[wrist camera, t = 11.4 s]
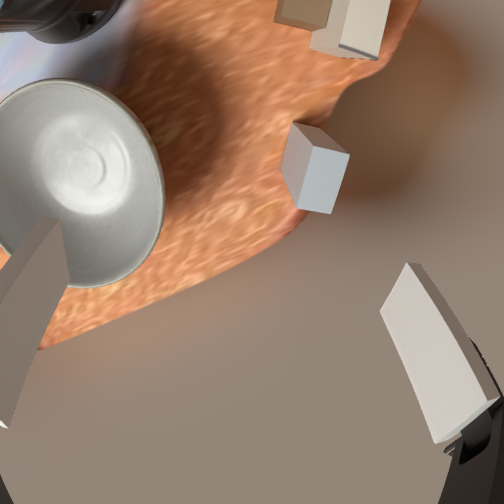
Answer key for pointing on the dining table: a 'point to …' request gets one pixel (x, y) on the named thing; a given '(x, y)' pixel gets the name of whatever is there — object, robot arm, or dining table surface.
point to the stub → (313, 168)
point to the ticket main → (338, 24)
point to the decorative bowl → (80, 177)
